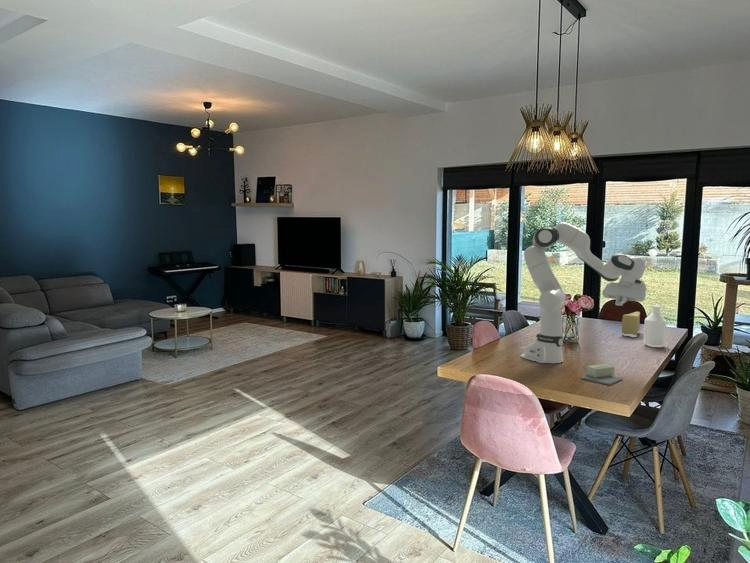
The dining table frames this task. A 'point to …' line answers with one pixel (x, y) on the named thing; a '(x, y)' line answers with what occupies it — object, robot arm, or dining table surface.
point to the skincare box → (600, 370)
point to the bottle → (655, 327)
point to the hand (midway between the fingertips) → (618, 304)
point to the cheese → (631, 323)
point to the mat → (602, 379)
